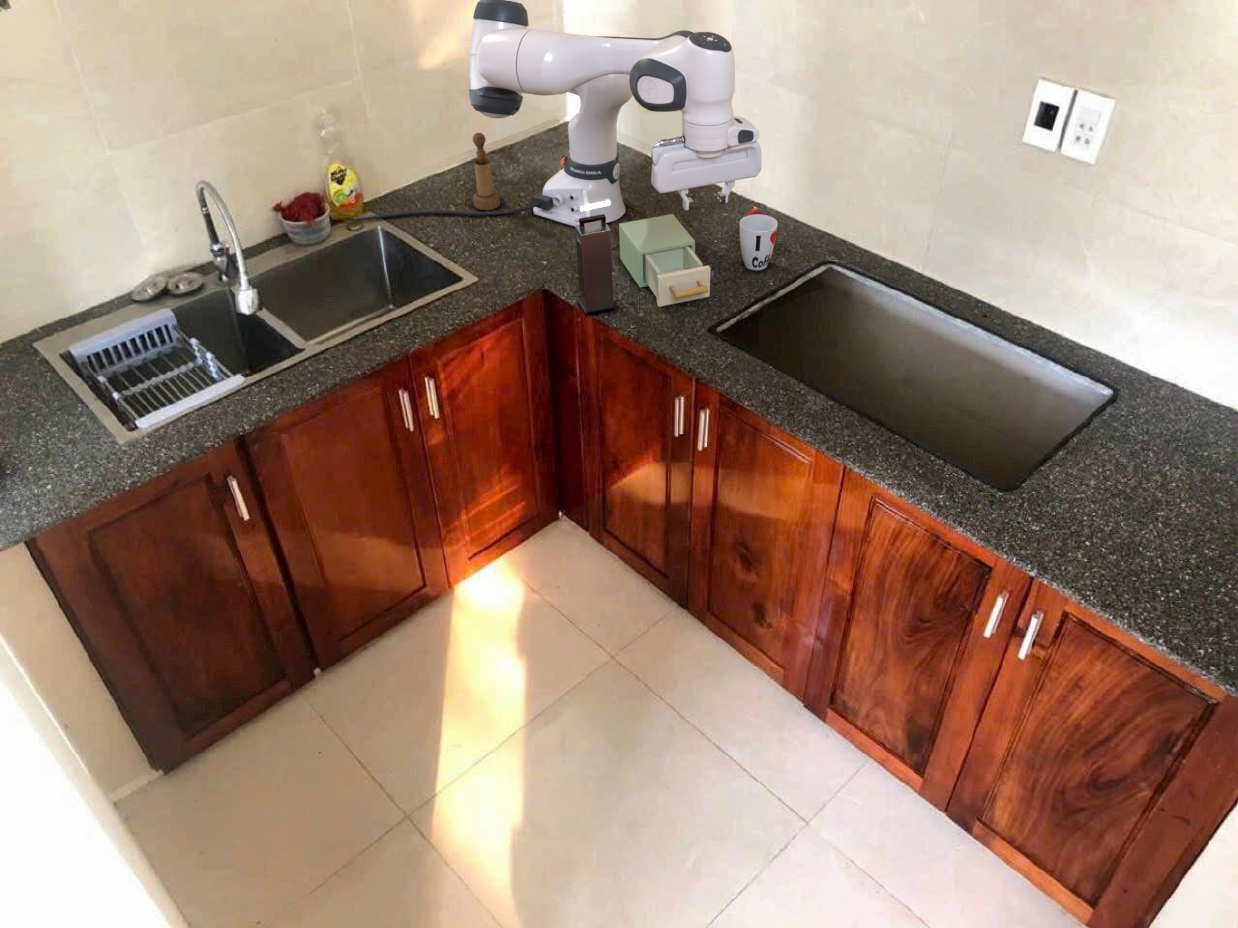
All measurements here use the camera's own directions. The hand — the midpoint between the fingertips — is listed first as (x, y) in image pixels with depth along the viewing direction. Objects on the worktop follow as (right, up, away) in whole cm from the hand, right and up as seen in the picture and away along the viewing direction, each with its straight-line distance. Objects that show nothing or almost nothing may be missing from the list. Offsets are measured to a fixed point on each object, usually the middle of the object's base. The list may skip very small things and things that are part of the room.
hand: (705, 205), depth 183 cm
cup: (+14, -4, +37) cm, 40 cm away
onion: (+15, +4, +46) cm, 48 cm away
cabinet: (-8, -4, +37) cm, 38 cm away
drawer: (-4, -11, +27) cm, 30 cm away
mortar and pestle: (-49, +17, +64) cm, 82 cm away
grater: (-20, -15, +25) cm, 36 cm away
